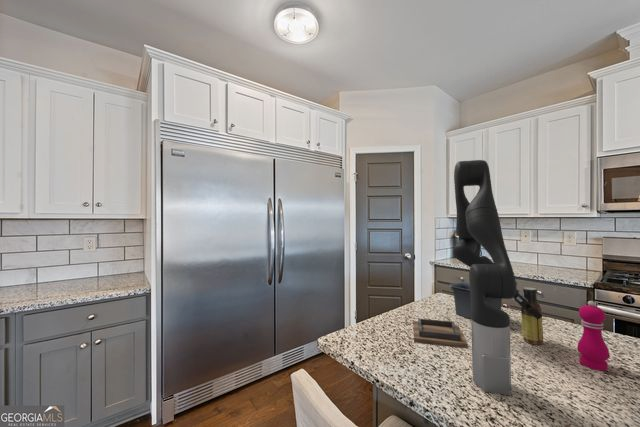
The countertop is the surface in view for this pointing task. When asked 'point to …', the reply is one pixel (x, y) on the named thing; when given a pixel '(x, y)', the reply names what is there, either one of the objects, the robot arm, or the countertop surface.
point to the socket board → (438, 333)
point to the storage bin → (468, 299)
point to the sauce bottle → (531, 319)
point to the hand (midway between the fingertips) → (537, 314)
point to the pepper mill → (592, 338)
